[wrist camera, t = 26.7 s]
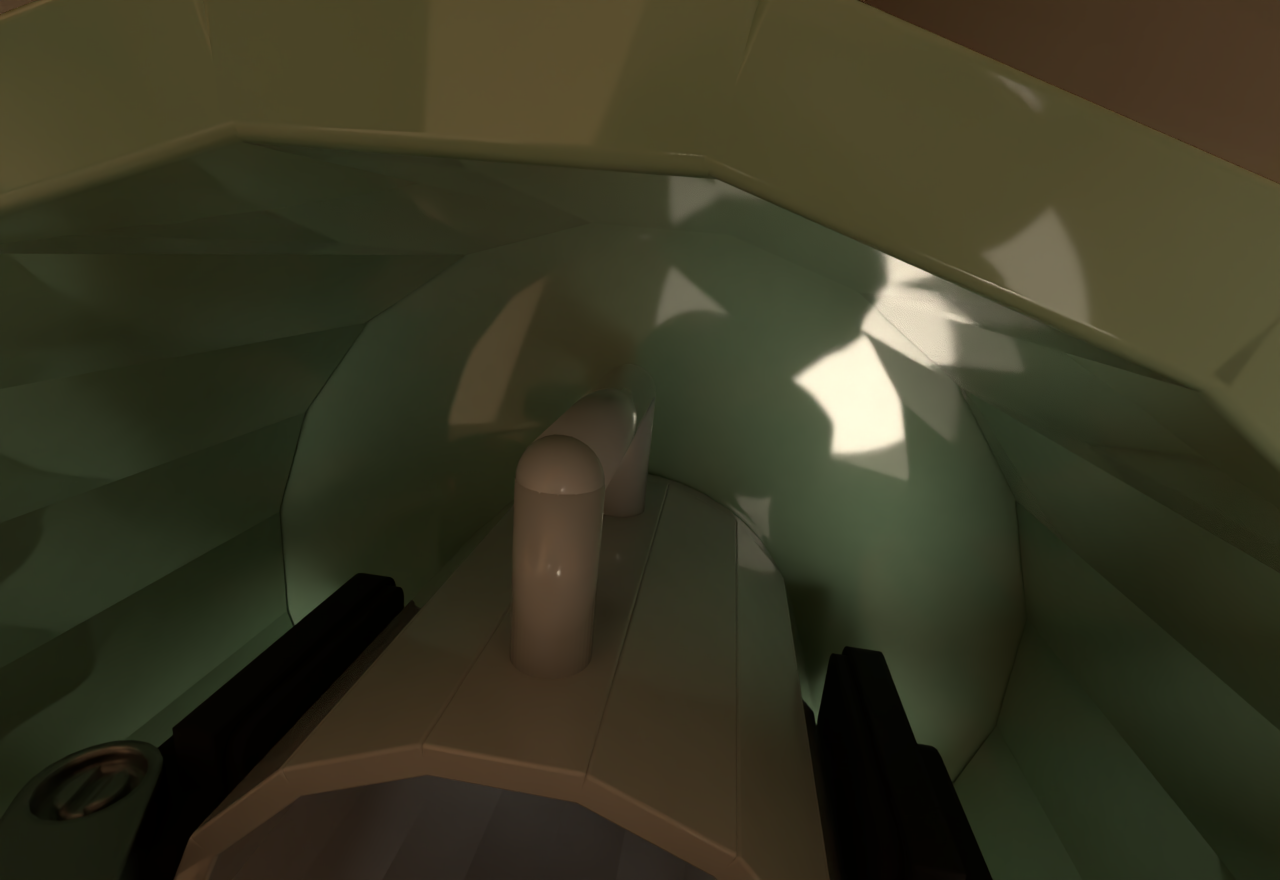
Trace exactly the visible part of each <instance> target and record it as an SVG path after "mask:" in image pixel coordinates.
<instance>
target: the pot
mask: <svg viewBox="0 0 1280 880" xmlns="http://www.w3.org/2000/svg"><path fill="white" fill-rule="evenodd" d="M623 364H634V365H637V366H640V367H642V368H643V369H645V370H646V371H647V372H648V373H649V374H650V376H651V377H652V379H653V381H654V383H655V388H656V395H655V406H654V416H653V427H652V437H651V447H650V458H649V468H648V474H651V475H656V476H660V477H663V478H666V479H669V480H673V481H676V482H679V483H682V484H684V485H686V486H688V487H690V488H693V489H695V490H697V491H699V492H701V493H703V494H705V495H707V496H708V497H710V498H711V499H713V500H715V501H716V502H718V503H719V504H721V505H723V506H724V507H726V508H727V509H728V510H729V511H730V512H732V513H733V514H734V515H735V516H737V517H738V518H739V519H740V520H741V521H743V522H744V523H745V524H746V525H747V526H748V528H749V529H750V530H751V531H752V532H753V533H754V534H755V535H756V536H757V537H758V538H759V539H760V541H761V542H762V543H763V545H764V546H765V548H766V549H767V550H768V552H769V553H770V554H771V556H772V557H773V559H774V561H775V563H776V565H777V566H778V568H779V570H780V572H781V574H782V576H783V578H784V580H785V583H786V586H787V589H788V592H789V594H790V597H791V601H792V606H793V611H794V616H795V619H796V623H797V626H798V630H799V633H800V637H801V641H802V646H803V652H804V658H805V664H806V670H807V675H808V681H809V687H810V693H811V698H812V704H813V710H814V716H815V722H816V724H817V719H818V713H819V708H820V703H821V698H822V693H823V688H824V683H825V677H826V672H827V667H828V662H829V658H830V655H831V654H832V653H835V654H841V655H842V651H843V649H844V647H845V646H849V647H856V648H862V649H869V650H875V651H880V652H882V653H883V655H884V657H885V660H886V663H887V665H888V668H889V671H890V673H891V676H892V679H893V681H894V684H895V686H896V689H897V692H898V694H899V697H900V700H901V702H902V705H903V708H904V710H905V713H906V715H907V718H908V721H909V723H910V726H911V729H912V731H913V734H914V737H915V739H916V742H917V743H918V744H924V745H930V746H933V747H935V748H936V749H937V750H938V752H939V753H940V755H941V757H942V759H943V762H944V764H945V766H946V769H947V771H948V774H949V776H950V778H951V781H952V783H953V786H954V788H955V790H956V793H957V795H958V798H959V800H960V802H961V805H962V807H963V810H964V812H965V814H966V817H967V819H968V822H969V824H970V826H971V829H972V831H973V834H974V836H975V838H976V841H977V843H978V846H979V848H980V850H981V853H982V855H983V858H984V860H985V862H986V865H987V867H988V870H989V872H990V874H991V877H992V879H993V880H1280V183H1277V182H1275V181H1273V180H1270V179H1268V178H1266V177H1264V176H1261V175H1259V174H1257V173H1254V172H1252V171H1250V170H1247V169H1245V168H1243V167H1241V166H1238V165H1236V164H1234V163H1231V162H1229V161H1227V160H1225V159H1222V158H1220V157H1218V156H1215V155H1213V154H1211V153H1208V152H1206V151H1204V150H1202V149H1199V148H1197V147H1195V146H1192V145H1190V144H1188V143H1185V142H1183V141H1181V140H1179V139H1176V138H1174V137H1172V136H1169V135H1167V134H1165V133H1163V132H1160V131H1158V130H1156V129H1153V128H1151V127H1149V126H1146V125H1144V124H1142V123H1140V122H1137V121H1135V120H1133V119H1130V118H1128V117H1126V116H1124V115H1121V114H1119V113H1117V112H1114V111H1112V110H1110V109H1107V108H1105V107H1103V106H1101V105H1098V104H1096V103H1094V102H1091V101H1089V100H1087V99H1085V98H1082V97H1080V96H1078V95H1075V94H1073V93H1071V92H1068V91H1066V90H1064V89H1062V88H1059V87H1057V86H1055V85H1052V84H1050V83H1048V82H1045V81H1043V80H1041V79H1039V78H1036V77H1034V76H1032V75H1029V74H1027V73H1025V72H1023V71H1020V70H1018V69H1016V68H1013V67H1011V66H1009V65H1006V64H1004V63H1002V62H1000V61H997V60H995V59H993V58H990V57H988V56H986V55H984V54H981V53H979V52H977V51H974V50H972V49H970V48H967V47H965V46H963V45H961V44H958V43H956V42H954V41H951V40H949V39H947V38H945V37H942V36H940V35H938V34H935V33H933V32H931V31H928V30H926V29H924V28H922V27H919V26H917V25H915V24H912V23H910V22H908V21H905V20H903V19H901V18H899V17H896V16H894V15H892V14H889V13H887V12H885V11H883V10H880V9H878V8H876V7H873V6H871V5H869V4H866V3H864V2H862V1H860V0H35V1H33V2H30V3H28V4H25V5H23V6H20V7H18V8H15V9H12V10H10V11H7V12H5V13H2V14H0V819H1V817H2V816H3V814H4V813H5V811H6V810H7V808H8V807H9V805H10V804H11V802H12V801H13V799H14V798H15V796H16V795H17V793H18V792H19V791H20V790H21V789H22V788H23V787H24V786H25V784H26V783H27V782H28V781H29V780H30V779H31V778H33V777H34V776H35V775H37V774H38V773H39V772H40V771H42V770H43V769H44V768H46V767H47V766H49V765H51V764H52V763H54V762H56V761H58V760H60V759H62V758H63V757H65V756H67V755H69V754H72V753H74V752H77V751H79V750H82V749H85V748H87V747H90V746H93V745H98V744H102V743H106V742H111V741H120V740H137V741H143V742H148V743H150V744H152V745H153V746H155V747H157V748H158V747H159V746H160V745H161V744H163V743H164V742H165V741H166V740H167V739H169V738H170V737H171V736H172V735H173V731H172V728H173V727H174V726H175V725H176V724H178V723H179V722H180V721H181V720H182V719H184V718H185V717H186V716H187V715H188V714H190V713H191V712H192V711H193V710H194V709H195V708H197V707H198V706H199V705H200V704H201V703H203V702H204V701H205V700H206V699H207V698H209V697H210V696H211V695H212V694H213V693H215V692H216V691H217V690H218V689H219V688H221V687H222V686H223V685H224V684H225V683H227V682H228V681H229V680H230V679H231V678H232V677H234V676H235V675H236V674H237V673H238V672H240V671H241V670H242V669H243V668H244V667H246V666H247V665H248V664H249V663H250V662H252V661H253V660H254V659H255V658H256V657H258V656H259V655H260V654H261V653H262V652H263V651H265V650H266V649H267V648H268V647H269V646H271V645H272V644H273V643H274V642H275V641H277V640H278V639H279V638H280V637H281V636H283V635H284V634H285V633H286V632H287V631H289V630H290V629H291V628H292V627H293V626H295V625H296V624H297V623H298V622H299V621H300V620H302V619H303V618H304V617H305V616H306V615H308V614H309V613H310V612H311V611H312V610H314V609H315V608H316V607H317V606H318V605H320V604H321V603H322V602H323V601H324V600H326V599H327V598H328V597H329V596H330V595H332V594H333V593H334V592H335V591H336V590H337V589H339V588H340V587H341V586H342V585H343V584H345V583H346V582H347V581H348V580H349V579H351V578H352V577H353V576H354V575H356V574H358V573H367V574H374V575H380V576H387V577H391V578H393V579H394V581H395V584H396V586H397V587H401V588H402V590H403V592H404V607H405V606H406V605H407V604H408V603H409V602H410V601H411V600H412V599H413V598H414V597H415V596H416V595H417V593H418V592H419V591H420V590H421V589H422V588H423V587H424V586H425V585H426V584H427V583H428V582H429V581H430V580H431V579H432V577H433V576H434V575H435V574H436V573H437V572H438V571H439V570H440V569H441V568H442V567H443V566H444V565H445V564H446V563H447V561H448V560H449V559H450V558H451V557H452V556H453V555H454V554H455V553H456V552H457V551H458V550H459V549H460V548H461V547H462V545H463V544H464V543H465V542H466V541H467V540H468V539H469V538H470V537H471V536H472V535H473V534H474V533H475V532H476V531H477V530H478V529H479V528H481V527H482V526H483V525H484V524H486V523H487V522H488V521H489V520H491V519H492V518H493V517H494V516H495V515H496V514H497V513H498V512H499V511H500V510H501V509H502V508H503V507H504V506H506V505H507V504H508V503H510V502H511V501H512V500H514V487H515V473H516V466H517V464H518V461H519V458H520V457H521V455H522V454H523V452H524V451H525V449H526V448H527V447H528V446H529V445H530V444H531V443H532V442H533V441H534V440H536V439H537V438H538V437H539V436H540V435H541V434H542V433H543V432H544V431H545V430H546V429H547V428H549V427H550V426H551V425H552V424H553V423H554V422H555V421H556V420H557V419H558V418H559V417H560V416H562V415H563V414H564V413H565V412H566V411H567V410H568V409H569V408H570V407H571V406H572V405H573V404H574V403H576V402H577V401H578V400H579V399H580V398H581V397H582V396H583V395H584V394H585V393H586V392H587V391H589V390H590V389H591V388H592V387H593V386H594V385H595V384H596V383H597V382H598V381H599V380H600V379H602V378H603V377H604V376H605V375H606V374H607V373H608V372H609V371H610V370H611V369H613V368H615V367H616V366H619V365H623Z"/></svg>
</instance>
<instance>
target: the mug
mask: <svg viewBox="0 0 1280 880" xmlns="http://www.w3.org/2000/svg"><path fill="white" fill-rule="evenodd" d="M655 395H656V388H655V383H654V381H653V379H652V377H651V376H650V374H649V373H648V372H647V371H646V370H645V369H643V368H642V367H640V366H637V365H634V364H623V365H619V366H616V367H615V368H613V369H611V370H610V371H609V372H608V373H607V374H606V375H605V376H604V377H603V378H602V379H600V380H599V381H598V382H597V383H596V384H595V385H594V386H593V387H592V388H591V389H590V390H589V391H587V392H586V393H585V394H584V395H583V396H582V397H581V398H580V399H579V400H578V401H577V402H576V403H574V404H573V405H572V406H571V407H570V408H569V409H568V410H567V411H566V412H565V413H564V414H563V415H562V416H560V417H559V418H558V419H557V420H556V421H555V422H554V423H553V424H552V425H551V426H550V427H549V428H547V429H546V430H545V431H544V432H543V433H542V434H541V435H540V436H539V437H538V438H537V439H536V440H534V441H533V442H532V443H531V444H530V445H529V446H528V447H527V448H526V449H525V451H524V452H523V454H522V455H521V457H520V458H519V461H518V464H517V466H516V473H515V487H514V500H512V501H511V502H510V503H508V504H507V505H506V506H504V507H503V508H502V509H501V510H500V511H499V512H498V513H497V514H496V515H495V516H494V517H493V518H492V519H491V520H489V521H488V522H487V523H486V524H484V525H483V526H482V527H481V528H479V529H478V530H477V531H476V532H475V533H474V534H473V535H472V536H471V537H470V538H469V539H468V540H467V541H466V542H465V543H464V544H463V545H462V547H461V548H460V549H459V550H458V551H457V552H456V553H455V554H454V555H453V556H452V557H451V558H450V559H449V560H448V561H447V563H446V564H445V565H444V566H443V567H442V568H441V569H440V570H439V571H438V572H437V573H436V574H435V575H434V576H433V577H432V579H431V580H430V581H429V582H428V583H427V584H426V585H425V586H424V587H423V588H422V589H421V590H420V591H419V592H418V593H417V595H416V596H415V597H414V598H413V599H412V600H411V601H410V602H409V603H408V604H407V605H406V606H405V607H404V608H403V609H402V610H401V612H400V613H399V614H398V615H397V616H396V617H395V618H394V619H393V620H392V621H391V622H390V623H389V624H388V625H387V626H386V628H385V629H384V630H383V631H382V632H381V633H380V634H379V635H378V636H377V637H376V638H375V639H374V640H373V641H372V642H371V644H370V645H369V646H368V647H367V648H366V649H365V650H364V651H363V652H362V653H361V654H360V655H359V656H358V657H357V658H356V660H355V661H354V662H353V663H352V664H351V665H350V666H349V667H348V668H347V669H346V670H345V671H344V672H343V673H342V674H341V676H340V677H339V678H338V679H337V680H336V681H335V682H334V683H333V684H332V685H331V686H330V687H329V688H328V689H327V690H326V692H325V693H324V694H323V695H322V696H321V697H320V698H319V699H318V700H317V701H316V702H315V703H314V704H313V705H312V706H311V707H310V709H309V710H308V711H307V712H306V713H305V714H304V715H303V716H302V717H301V718H300V719H299V720H298V721H297V722H296V723H295V725H294V726H293V727H292V728H291V729H290V730H289V731H288V732H287V733H286V734H285V735H284V736H283V737H282V738H281V739H280V741H279V742H278V743H277V744H276V745H275V746H274V747H273V748H272V749H271V750H270V751H269V752H268V753H267V754H266V755H265V757H264V758H263V759H262V760H261V761H260V762H259V763H258V764H257V765H256V766H255V767H254V768H253V769H252V770H251V771H250V773H249V774H248V775H247V776H246V777H245V778H244V779H243V780H242V781H241V782H240V783H239V784H238V785H237V786H236V787H235V788H234V790H233V791H232V792H231V793H230V794H229V795H228V796H227V797H226V798H225V799H224V800H223V801H222V802H221V803H220V804H219V806H218V807H217V808H216V809H215V810H214V811H213V812H212V813H211V814H210V815H209V816H208V817H207V818H206V819H205V820H204V822H203V823H202V824H201V825H200V826H199V827H198V828H197V829H196V830H195V831H194V832H193V834H192V835H191V836H190V838H189V840H188V843H187V846H186V848H185V851H184V854H183V856H182V859H181V861H180V864H179V867H178V869H177V872H176V875H175V877H174V880H843V877H842V872H841V866H840V860H839V854H838V848H837V843H836V837H835V831H834V825H833V820H832V814H831V808H830V802H829V797H828V791H827V785H826V779H825V773H824V768H823V762H822V756H821V750H820V745H819V739H818V733H817V727H816V722H815V716H814V710H813V704H812V698H811V693H810V687H809V681H808V675H807V670H806V664H805V658H804V652H803V646H802V641H801V637H800V633H799V630H798V626H797V623H796V619H795V616H794V611H793V606H792V601H791V597H790V594H789V592H788V589H787V586H786V583H785V580H784V578H783V576H782V574H781V572H780V570H779V568H778V566H777V565H776V563H775V561H774V559H773V557H772V556H771V554H770V553H769V552H768V550H767V549H766V548H765V546H764V545H763V543H762V542H761V541H760V539H759V538H758V537H757V536H756V535H755V534H754V533H753V532H752V531H751V530H750V529H749V528H748V526H747V525H746V524H745V523H744V522H743V521H741V520H740V519H739V518H738V517H737V516H735V515H734V514H733V513H732V512H730V511H729V510H728V509H727V508H726V507H724V506H723V505H721V504H719V503H718V502H716V501H715V500H713V499H711V498H710V497H708V496H707V495H705V494H703V493H701V492H699V491H697V490H695V489H693V488H690V487H688V486H686V485H684V484H682V483H679V482H676V481H673V480H669V479H666V478H663V477H660V476H656V475H651V474H648V468H649V458H650V447H651V437H652V427H653V416H654V406H655Z"/></svg>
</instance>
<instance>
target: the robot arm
mask: <svg viewBox="0 0 1280 880" xmlns="http://www.w3.org/2000/svg"><path fill="white" fill-rule="evenodd" d="M403 608H404V592H403V590H402V588H401V587H397V586H396V584H395V581H394V579H393V578H391V577H387V576H380V575H374V574H367V573H358V574H356V575H354V576H353V577H352V578H351V579H349V580H348V581H347V582H346V583H345V584H343V585H342V586H341V587H340V588H339V589H337V590H336V591H335V592H334V593H333V594H332V595H330V596H329V597H328V598H327V599H326V600H324V601H323V602H322V603H321V604H320V605H318V606H317V607H316V608H315V609H314V610H312V611H311V612H310V613H309V614H308V615H306V616H305V617H304V618H303V619H302V620H300V621H299V622H298V623H297V624H296V625H295V626H293V627H292V628H291V629H290V630H289V631H287V632H286V633H285V634H284V635H283V636H281V637H280V638H279V639H278V640H277V641H275V642H274V643H273V644H272V645H271V646H269V647H268V648H267V649H266V650H265V651H263V652H262V653H261V654H260V655H259V656H258V657H256V658H255V659H254V660H253V661H252V662H250V663H249V664H248V665H247V666H246V667H244V668H243V669H242V670H241V671H240V672H238V673H237V674H236V675H235V676H234V677H232V678H231V679H230V680H229V681H228V682H227V683H225V684H224V685H223V686H222V687H221V688H219V689H218V690H217V691H216V692H215V693H213V694H212V695H211V696H210V697H209V698H207V699H206V700H205V701H204V702H203V703H201V704H200V705H199V706H198V707H197V708H195V709H194V710H193V711H192V712H191V713H190V714H188V715H187V716H186V717H185V718H184V719H182V720H181V721H180V722H179V723H178V724H176V725H175V726H174V727H173V728H172V731H173V735H172V736H171V737H170V738H169V739H167V740H166V741H165V742H164V743H163V744H161V745H160V746H159V747H158V748H157V747H155V746H153V745H152V744H150V743H148V742H143V741H137V740H120V741H111V742H106V743H102V744H98V745H93V746H90V747H87V748H85V749H82V750H79V751H77V752H74V753H72V754H69V755H67V756H65V757H63V758H62V759H60V760H58V761H56V762H54V763H52V764H51V765H49V766H47V767H46V768H44V769H43V770H42V771H40V772H39V773H38V774H37V775H35V776H34V777H33V778H31V779H30V780H29V781H28V782H27V783H26V784H25V786H24V787H23V788H22V789H21V790H20V791H19V792H18V793H17V795H16V796H15V798H14V799H13V801H12V802H11V804H10V805H9V807H8V808H7V810H6V811H5V813H4V814H3V816H2V817H1V819H0V880H174V877H175V875H176V872H177V869H178V867H179V864H180V861H181V859H182V856H183V854H184V851H185V848H186V846H187V843H188V840H189V838H190V836H191V835H192V834H193V832H194V831H195V830H196V829H197V828H198V827H199V826H200V825H201V824H202V823H203V822H204V820H205V819H206V818H207V817H208V816H209V815H210V814H211V813H212V812H213V811H214V810H215V809H216V808H217V807H218V806H219V804H220V803H221V802H222V801H223V800H224V799H225V798H226V797H227V796H228V795H229V794H230V793H231V792H232V791H233V790H234V788H235V787H236V786H237V785H238V784H239V783H240V782H241V781H242V780H243V779H244V778H245V777H246V776H247V775H248V774H249V773H250V771H251V770H252V769H253V768H254V767H255V766H256V765H257V764H258V763H259V762H260V761H261V760H262V759H263V758H264V757H265V755H266V754H267V753H268V752H269V751H270V750H271V749H272V748H273V747H274V746H275V745H276V744H277V743H278V742H279V741H280V739H281V738H282V737H283V736H284V735H285V734H286V733H287V732H288V731H289V730H290V729H291V728H292V727H293V726H294V725H295V723H296V722H297V721H298V720H299V719H300V718H301V717H302V716H303V715H304V714H305V713H306V712H307V711H308V710H309V709H310V707H311V706H312V705H313V704H314V703H315V702H316V701H317V700H318V699H319V698H320V697H321V696H322V695H323V694H324V693H325V692H326V690H327V689H328V688H329V687H330V686H331V685H332V684H333V683H334V682H335V681H336V680H337V679H338V678H339V677H340V676H341V674H342V673H343V672H344V671H345V670H346V669H347V668H348V667H349V666H350V665H351V664H352V663H353V662H354V661H355V660H356V658H357V657H358V656H359V655H360V654H361V653H362V652H363V651H364V650H365V649H366V648H367V647H368V646H369V645H370V644H371V642H372V641H373V640H374V639H375V638H376V637H377V636H378V635H379V634H380V633H381V632H382V631H383V630H384V629H385V628H386V626H387V625H388V624H389V623H390V622H391V621H392V620H393V619H394V618H395V617H396V616H397V615H398V614H399V613H400V612H401V610H402V609H403ZM816 727H817V733H818V739H819V745H820V750H821V756H822V762H823V768H824V773H825V779H826V785H827V791H828V797H829V802H830V808H831V814H832V820H833V825H834V831H835V837H836V843H837V848H838V854H839V860H840V866H841V872H842V877H843V880H993V879H992V877H991V874H990V872H989V870H988V867H987V865H986V862H985V860H984V858H983V855H982V853H981V850H980V848H979V846H978V843H977V841H976V838H975V836H974V834H973V831H972V829H971V826H970V824H969V822H968V819H967V817H966V814H965V812H964V810H963V807H962V805H961V802H960V800H959V798H958V795H957V793H956V790H955V788H954V786H953V783H952V781H951V778H950V776H949V774H948V771H947V769H946V766H945V764H944V762H943V759H942V757H941V755H940V753H939V752H938V750H937V749H936V748H935V747H933V746H930V745H924V744H918V743H917V742H916V739H915V737H914V734H913V731H912V729H911V726H910V723H909V721H908V718H907V715H906V713H905V710H904V708H903V705H902V702H901V700H900V697H899V694H898V692H897V689H896V686H895V684H894V681H893V679H892V676H891V673H890V671H889V668H888V665H887V663H886V660H885V657H884V655H883V653H882V652H880V651H875V650H869V649H862V648H856V647H849V646H845V647H844V649H843V651H842V655H841V654H835V653H832V654H831V655H830V658H829V662H828V667H827V672H826V677H825V683H824V688H823V693H822V698H821V703H820V708H819V713H818V719H817V724H816Z"/></svg>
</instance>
